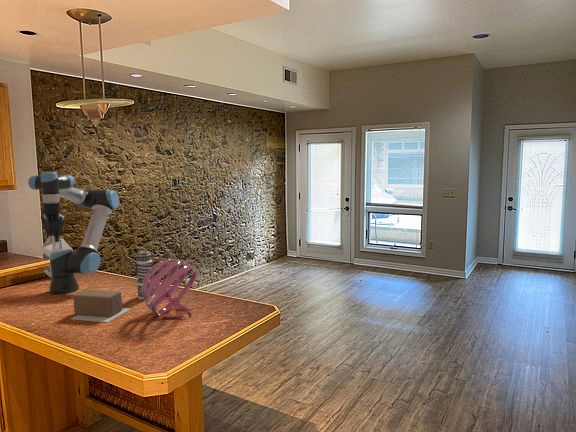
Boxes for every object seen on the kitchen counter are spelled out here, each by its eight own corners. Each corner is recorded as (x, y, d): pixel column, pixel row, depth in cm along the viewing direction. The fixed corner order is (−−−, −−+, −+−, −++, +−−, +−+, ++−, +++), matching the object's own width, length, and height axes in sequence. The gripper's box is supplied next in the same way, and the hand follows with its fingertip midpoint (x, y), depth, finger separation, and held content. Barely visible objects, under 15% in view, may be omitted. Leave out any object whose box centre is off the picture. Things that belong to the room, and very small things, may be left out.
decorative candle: (148, 300, 231) (145, 253, 228) (133, 298, 234) (130, 253, 231) (158, 295, 240) (156, 250, 236) (144, 293, 243) (141, 249, 239)
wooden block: (73, 315, 210) (111, 317, 206) (72, 295, 208) (109, 297, 204) (87, 308, 219) (123, 310, 215) (85, 288, 218) (121, 290, 214)
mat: (95, 306, 223) (95, 306, 223) (130, 309, 218) (130, 308, 218) (70, 319, 205) (70, 318, 205) (107, 322, 200) (107, 321, 200)
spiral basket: (221, 272, 209) (179, 238, 215) (181, 302, 186) (135, 264, 193) (205, 308, 225) (166, 276, 231) (166, 340, 202) (124, 303, 208)
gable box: (43, 272, 293) (39, 231, 289) (64, 269, 302) (61, 229, 298) (52, 279, 277) (48, 235, 273) (75, 275, 285) (71, 232, 282)
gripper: (35, 203, 220) (39, 249, 223) (56, 203, 217) (61, 250, 220) (46, 201, 227) (50, 246, 230) (67, 201, 224) (71, 247, 227)
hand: (55, 248), depth 225 cm, fingers closed
